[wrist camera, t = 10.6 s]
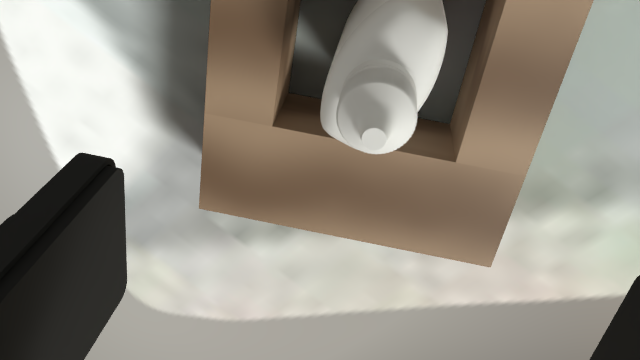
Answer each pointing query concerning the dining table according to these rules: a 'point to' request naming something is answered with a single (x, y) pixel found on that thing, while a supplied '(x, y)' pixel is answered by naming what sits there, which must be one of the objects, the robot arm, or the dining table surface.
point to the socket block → (382, 169)
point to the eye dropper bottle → (383, 72)
